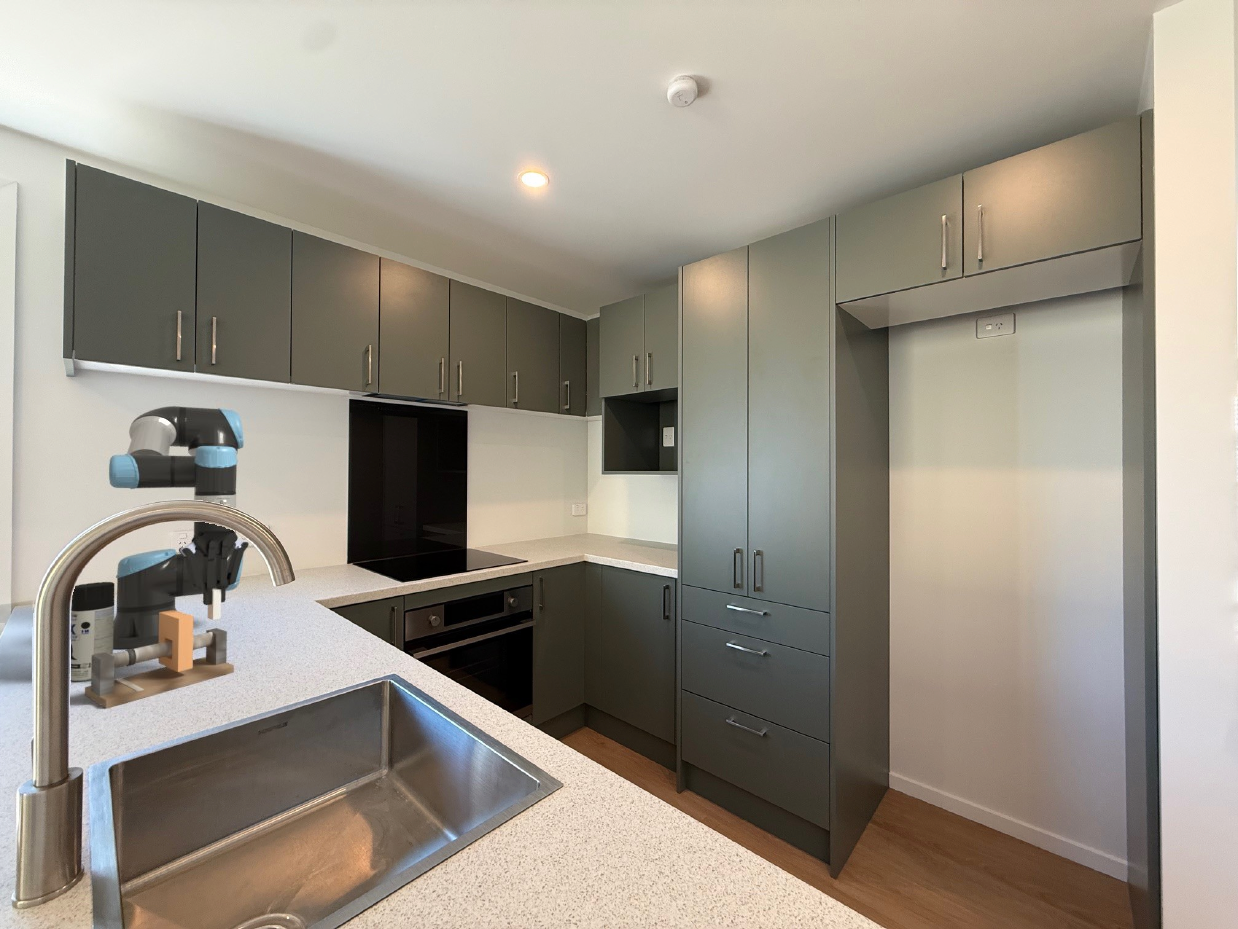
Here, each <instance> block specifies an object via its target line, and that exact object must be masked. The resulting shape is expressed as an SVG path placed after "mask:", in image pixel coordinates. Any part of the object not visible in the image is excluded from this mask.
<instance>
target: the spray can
mask: <svg viewBox="0 0 1238 929" xmlns="http://www.w3.org/2000/svg"><path fill="white" fill-rule="evenodd" d="M74 586H75V589H74V592H73V595H72V594H71V607H70V611H71V612H70V639H71V680H70V682H73V683H78V682H77V681H83V682H89V680H90V681H91V664H92V655H94V654H99V653H104V652H106V653H108V654H113V653H114V648H113V631H114V619H115V582H112V581H103V582H102V581H101V582H98V581H97V582H92V583H91V582H90V583H83V584H77V585H74ZM75 681H76V682H75Z"/></svg>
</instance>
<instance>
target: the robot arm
mask: <svg viewBox="0 0 1238 929" xmlns="http://www.w3.org/2000/svg"><path fill="white" fill-rule="evenodd" d="M128 433H129V438H130V439H131V440H130V443H129V447H128V449H127V452H126V453H125V454H115V455H112V456H111V457H110V459H109V465H108V466H109V467H108V479H109V484H110V486H111V487H113V488H115V489H130V490H135V489H165V488H166V489H168V488H169V489H172V488H177V489H178V488H179V489H180V488H181V489H182V488H183V489H184V488H187V489H188V488H192V489H194V495H193V500H203V501H208V502H215V503H220V504H223V505H228V506H230V507H233V508H236V509H237V472H238V471H237V467H238V466H237V465H238V458H237V455H238V453H239V452H238V451H239V450H241V449H243V448H244V444H245V443H244V432H243V426H242V421H241V416H240V415H239V414H238V412H237V411H236V410H232V409H225V408H224V409H223V408H219V407H218V408H207V407H206V408H205V407H190V406H176V405H173V406H162V407H159V408H154V409H152V410H149V411H146V412H144V413H142V414H140V415H139V416H137V417H136V418H135V419H134V420H133V421H132V422H131V425H130V426H129V431H128ZM170 447H180V448H187V450H188V451H187V452H188V455H170V449H171V448H170ZM249 546H250V544H249V542H248V541H243V540H241V539H239V537H238V534H237V533H236V531H235V532H234V531H233V530H230V529H226V528H225V527H222V526H217V525H215V524H209V523H205V522H194V521H193V537H192V539H191V541H190V543H188V544H187V545H185V546H182V547H179V548H178V552H179V553H178V552H177V551H176V549H175V548H166V549H158V550H151V551H147V552H141V553H136V554H132V555H129V556H125V557H123V558H122V559H120V561H119V562H118V564H117V570H116V571H117V574H116V576H115V578H116V579H117V580H116V581H117V582H116V584H117V585H116V586H117V587H116V588H117V589H116V614H115V616H114V631H113V650H114V649H116V650H117V649H118V650H119V649H121V650H123V649H125V650H126V649H132V648H133V649H135V648H140V647H144V646H149V645H154V644H158V643H159V612H164V611H170V610H176V611H178V610H177V608H176V598H178V597H179V598H180V597H189V596H199V595H202V603H203V605H205V606H207V619H209V620H219V619H221V618H222V617H221V615H222V603H224V602H226V600H227V599H226V594H227V592H228V591H233V590H235V589H237V587H238V586H239V584H240V581H241V576H242V571H243V570H242V569H243V564H244V556H245V555H244V554H245V551H246V550H247V548H248V547H249Z"/></svg>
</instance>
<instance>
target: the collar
mask: <svg viewBox="0 0 1238 929" xmlns="http://www.w3.org/2000/svg"><path fill="white" fill-rule="evenodd" d="M176 610H177V609H176ZM176 610H170V611H164V612H159V643H163V642H167V641H172V655H170V656H166V657H161V658H157V659H158V664H160V665H162V666H163V667H168V668H170V669H173V670H175V671H177V672H180V671H184V670H187V669H191V668H193V660H194V658H193V657H194V656H193V655H194V650H193V636H194V615H191V614H187V613H186V612H185V613H184V612H182V611H178V610H177V611H176Z"/></svg>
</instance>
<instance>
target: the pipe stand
mask: <svg viewBox="0 0 1238 929" xmlns="http://www.w3.org/2000/svg"><path fill="white" fill-rule="evenodd" d="M227 641H228V632H227V630H223V629H220V628H217V627H216V628H210V629H206V631H205V633H200V634H195V635H193V651H195V650H198V649H204V648H205V656H204V657H203V656H202V657H199V658H196V659H193V668H191V669H187V670H184V671H180V672H177V671H175V670H173V669H170V668H168V667H166V666H163V667H159V668H155V669H151V670H148V671H144V672H140V673H136V674H131V675H128V676H125V677H118V678H115V669H118V668H119V669H120V668H123V667H131V666H134V665H136V664H140V663H144V662H149V661H153V660H156V659H158V658H161V657H166V656H170V655H172V641H167V642H163V643H158V644H154V645H149V646H144V647H136V648H126V649H125V650H122V651H117V652H113V654H108V653H106V652H104V653H99V654H94V655H92V664H91V680H90V685H89V686H85V687H84V695H85V696H86V697H87V698H89V697H90V699H91V700H93V701H94V702H95V703H97V704H99V705H101V706H102V707H103V708H105V709H108V708H110V709H111V708H113V707H116V706H119V705H123V704H126V703H131V702H134V701H137V700H142V699H144V698H148V697H151V696H154V695H155V696H156V695H158V694H162V693H166V692H169V691H173V690H177V689H179V688H182V687H183V688H184V687H186V686H190V685H194V684H198V683H200V682H204V681H208V680H211V679H214V678H215V679H216V678H218V677H222V676H225V675H228V674H233V673H234V672H235V671H234V670H235V665H234V664H231V663H228V662H227V651H228V650H227V649H228V647H227V646H228V645H227V644H228V642H227Z"/></svg>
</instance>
